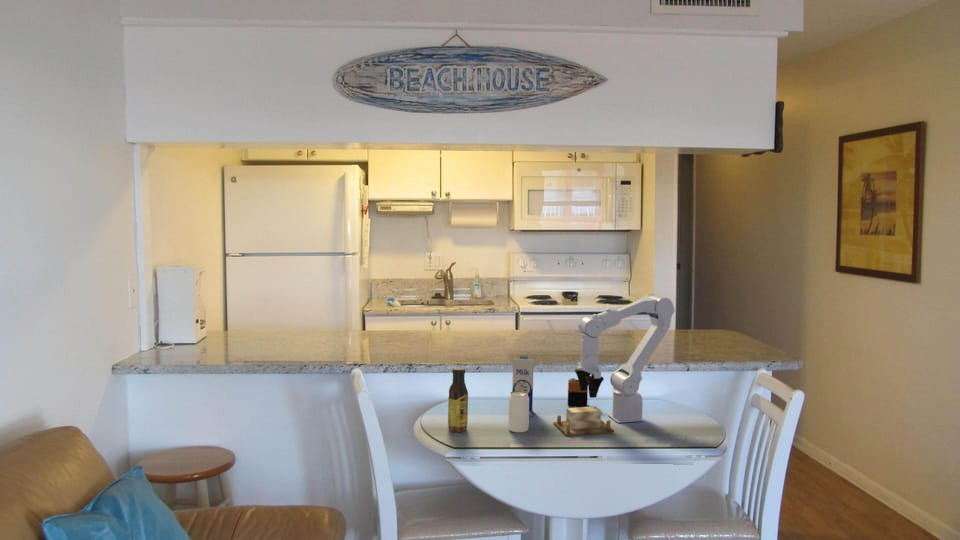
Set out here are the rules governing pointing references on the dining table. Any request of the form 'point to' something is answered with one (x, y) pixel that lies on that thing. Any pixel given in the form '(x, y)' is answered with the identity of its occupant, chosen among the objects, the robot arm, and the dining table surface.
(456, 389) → the sauce bottle
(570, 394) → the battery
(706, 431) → the dining table surface
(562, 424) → the chassis
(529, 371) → the milk carton
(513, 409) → the can
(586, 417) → the block
